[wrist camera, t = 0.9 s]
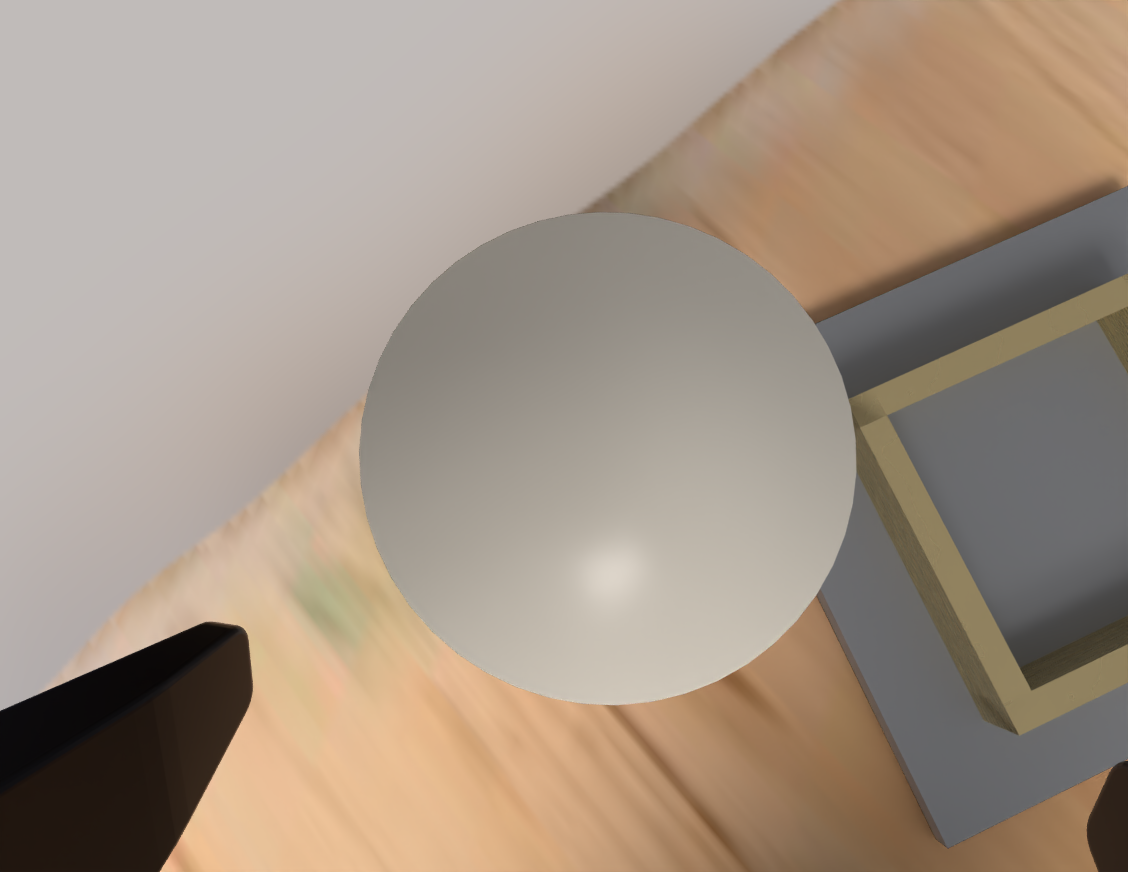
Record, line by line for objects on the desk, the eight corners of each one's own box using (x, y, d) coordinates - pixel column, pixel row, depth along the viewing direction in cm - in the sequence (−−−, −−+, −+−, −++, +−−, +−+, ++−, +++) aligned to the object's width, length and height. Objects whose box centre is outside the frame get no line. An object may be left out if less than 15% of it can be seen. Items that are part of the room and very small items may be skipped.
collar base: (1376, 620, 20) (1472, 629, 18) (936, 838, 19) (980, 875, 17) (1118, 193, 22) (1176, 156, 20) (708, 374, 21) (723, 355, 19)
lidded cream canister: (716, 557, 20) (958, 578, 8) (530, 642, 20) (470, 808, 7) (631, 375, 21) (725, 131, 9) (450, 454, 21) (276, 320, 8)
